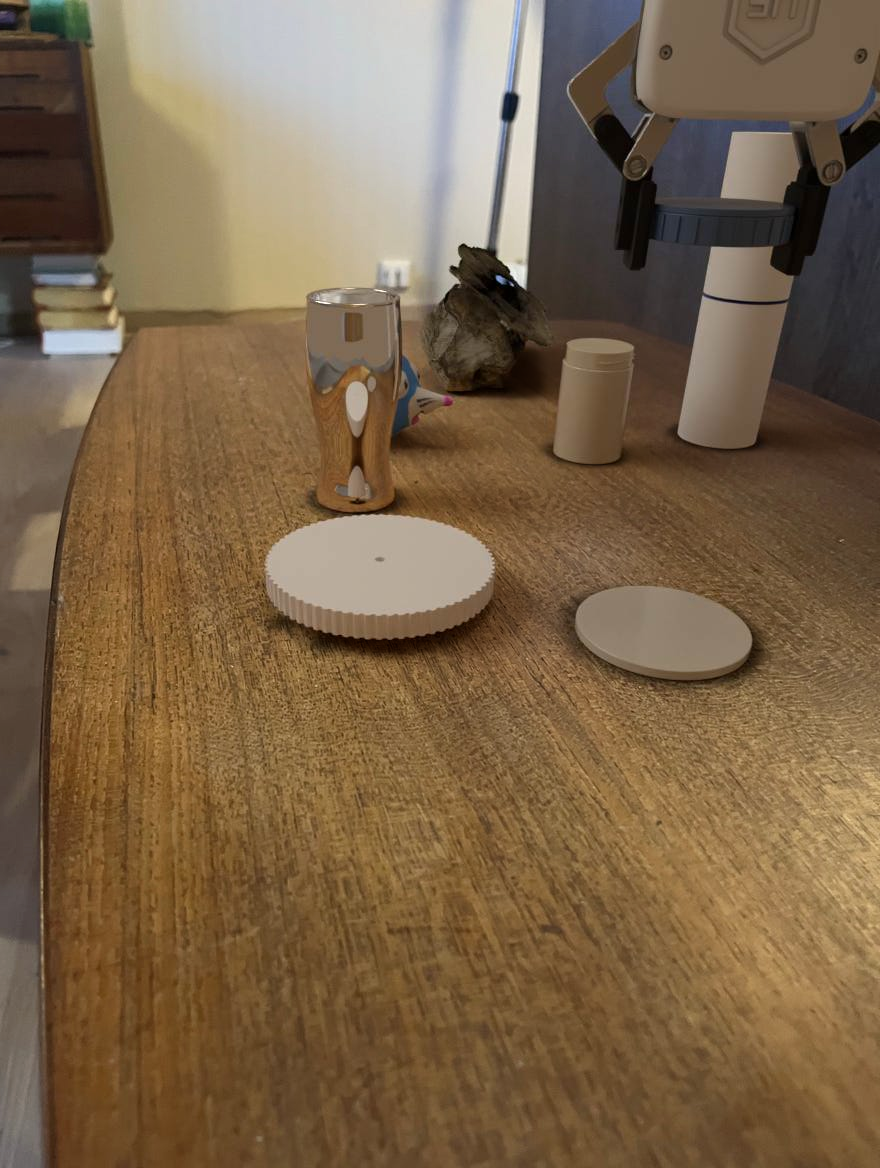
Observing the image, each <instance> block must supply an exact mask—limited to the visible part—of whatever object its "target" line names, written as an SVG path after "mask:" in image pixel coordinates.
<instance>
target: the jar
mask: <svg viewBox="0 0 880 1168" xmlns="http://www.w3.org/2000/svg"><path fill="white" fill-rule="evenodd" d="M635 357H636V352H635V346H634V345H632V343H629V342H626V341H622V340H619V339H611V338H602V337H583V338H576V339H571V340H569V341H568V342H566V347H565V356H564V358H563V359H562V363H561V372H560V381H559V390H558V399H557V408H556V409H557V410H556V417H555V426H554V435H553V436H554V437H553V443H552V444H553V445H552V451H553V454H554V455H555V456H557V457H558V458H560V459H562V460H565V461H568V462H572V463H576V464H583V465H603V464H604V465H605V464H610V463H613V462H616V461H618V460H619V459H620V458H621V456H622V451H623V450H622V449H623V442H624V436H625V429H626V423H627V418H628V417H627V416H628V410H629V402H630V396H631V390H632V384H633V377H634V370H635V363H634V362H633V360H634V359H635Z"/></svg>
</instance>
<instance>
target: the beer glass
mask: <svg viewBox="0 0 880 1168" xmlns="http://www.w3.org/2000/svg"><path fill="white" fill-rule="evenodd" d="M305 298H306V311H305V312H306V313H305V334H304V337H305V338H304V341H305V342H304V345H305V347H304V349H305V350H304V351H305V352H304V353H305V368H306V379H307V385H308V393H309V397H310V403H311V406H312V413H313V417H314V421H315V426H316V432H317V436H318V443H319V451H320V452H319V453H320V464H319V465H320V468H319V475H318V481H317V488H316V500H317V501H318V503H319V504H320V505H322V506H323V507H325V508H327V509H330V510H333V511H337V512H341V513H342V512H343V513H353V514H354V513H369V512H374V511H379V510H382V509H384V508H386V507H389V506H390V505H391V504H392V503H393V502H394V500H395V487H394V482H393V481H394V480H393V476H392V469H391V456H390V455H391V441H392V437H391V436H392V430H393V425H394V419H395V414H396V409H397V403H398V398H399V391H400V384H401V376H402V354H403V327H402V326H403V325H402V315H401V314H402V311H401V295H400V294H398V293H397V292H395V291H391V290H387V289H381V288H374V287H373V288H372V287H353V286H352V287H351V286H349V287H347V286H346V287H329V288H321V289H316V290H313V291H310V292H308V293H307V294H306V297H305Z"/></svg>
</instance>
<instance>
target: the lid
mask: <svg viewBox="0 0 880 1168" xmlns="http://www.w3.org/2000/svg"><path fill="white" fill-rule="evenodd" d="M794 212H795V206H794V205H791V204H787V203H781V202H773V201H763V200H751V199H735V198H720V197H709V196H708V197H705V196H703V197H701V196H677V197H676V196H673V197H672V196H671V197H656V199H655V205H654V212H653V219H652V225H651V232H650V238H649V240H652V241H657V242H662V243H667V244H668V243H669V244H676V245H683V246H684V245H685V246H697V247H710V248H711V247H739V248H751V247H772V246H779V245H784V244H786V243H787V242H789V238H790V234H791V229H792V225H793V220H794Z"/></svg>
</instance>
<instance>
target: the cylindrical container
mask: <svg viewBox="0 0 880 1168" xmlns="http://www.w3.org/2000/svg"><path fill="white" fill-rule="evenodd" d="M799 169H800V166H799V162H798V158H797V153H796V149H795V145H794V141H793V137H792V133H791V132H777V131H776V132H775V131H774V132H773V131H732V132H731V138H730V143H729V148H728V155H727V160H726V165H725V171H724V176H723V181H722V186H721V192H720V197H719V198H735V199H751V200H763V201H773V202H781V203H783V200H784V195H785V191H786V188H787V186H788V185H790V183H791V181H796V179H797V174H798V170H799ZM772 250H773V246H772V247H751V248H739V247H710V253H709V259H708V263H707V268H706V274H705V280H704V284H703V285H704V286H703V291H702V292H703V293H702V296H701V302H700V306H699V312H698V318H697V323H696V330H695V333H694V339H693V345H692V351H691V356H690V362H689V367H688V372H687V378H686V383H685V389H684V394H683V400H682V406H681V410H680V411H681V412H680V416H679V422H678V426H677V435H678V437H679V438H681V439H682V440H684V441H687V442H688V443H691V444H694V445H698V446H701V447H707V448H713V449H726V450H727V449H728V450H729V449H731V450H733V449H735V450H736V449H743V448H744V449H745V448H749V447H751V446H753V445H755V443H757V437H758V433H759V429H760V424H761V419H762V415H763V412H764V407H765V403H766V398H767V394H768V389H769V386H770V382H771V376H772V372H773V368H774V364H775V360H776V355H777V351H778V347H779V342H780V338H781V334H782V328H783V325H784V321H785V316H786V312H787V307H788V303H789V298H790V295H791V290H792V286H793V282H794V277H795V276H787V275H785V274H784V273H782V272H780V271H778V270H776V269H774V267H772V266H771V265H770V260H771V255H772Z"/></svg>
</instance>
